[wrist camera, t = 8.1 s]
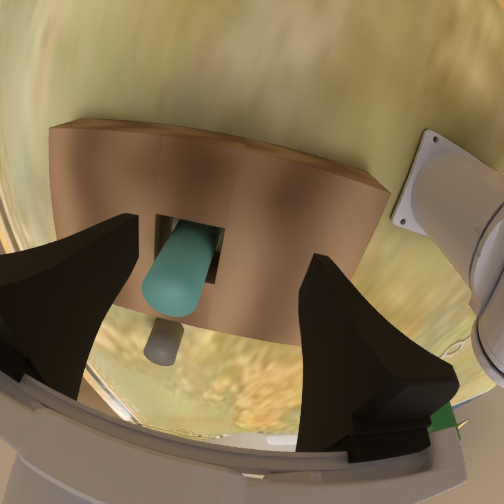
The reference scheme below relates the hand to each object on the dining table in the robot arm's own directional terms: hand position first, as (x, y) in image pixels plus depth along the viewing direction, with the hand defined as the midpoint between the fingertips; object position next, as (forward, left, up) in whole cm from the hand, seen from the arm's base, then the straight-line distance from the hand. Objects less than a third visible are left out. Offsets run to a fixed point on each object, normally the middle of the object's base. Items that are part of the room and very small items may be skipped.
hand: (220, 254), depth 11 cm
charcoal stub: (+5, +17, -9) cm, 20 cm away
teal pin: (+2, +4, -9) cm, 11 cm away
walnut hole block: (+3, +4, -9) cm, 10 cm away
